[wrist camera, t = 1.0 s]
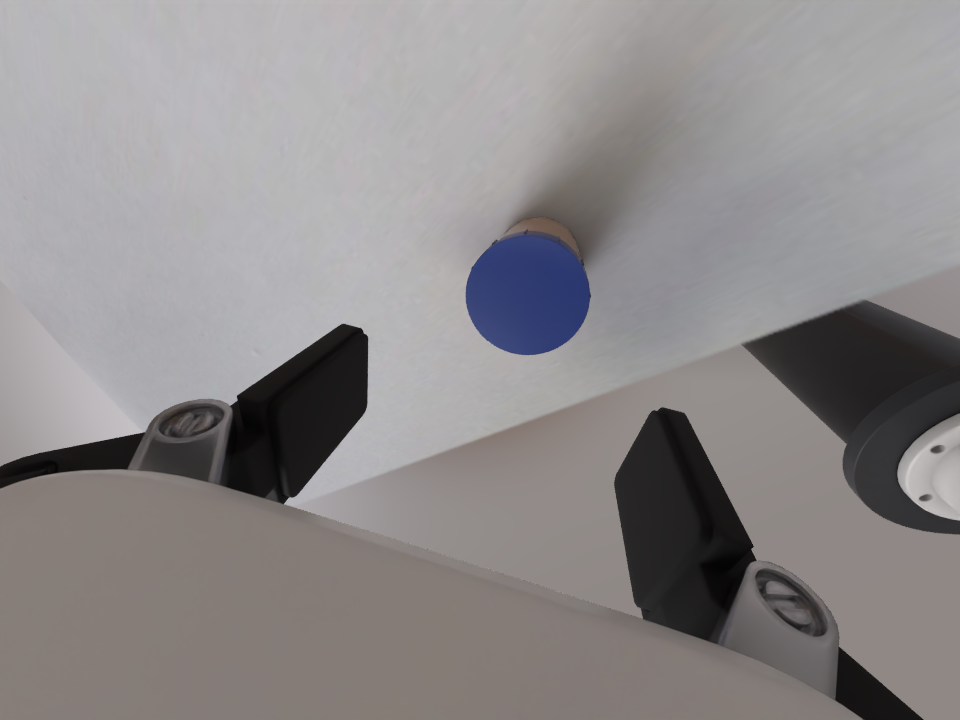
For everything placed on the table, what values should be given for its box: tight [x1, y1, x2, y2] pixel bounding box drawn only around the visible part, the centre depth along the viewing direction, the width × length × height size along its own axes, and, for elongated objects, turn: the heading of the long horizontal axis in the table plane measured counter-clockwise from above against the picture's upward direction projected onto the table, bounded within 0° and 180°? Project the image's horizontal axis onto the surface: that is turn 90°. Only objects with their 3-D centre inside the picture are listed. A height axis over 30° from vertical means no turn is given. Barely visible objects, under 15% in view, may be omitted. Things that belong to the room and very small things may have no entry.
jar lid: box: [466, 229, 591, 355], centre depth 20 cm, size 7×7×2 cm
